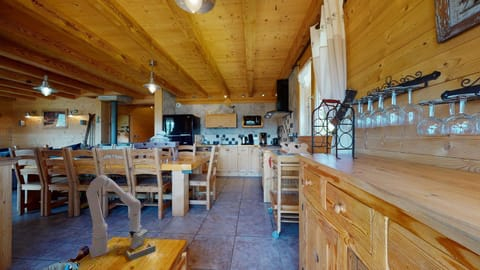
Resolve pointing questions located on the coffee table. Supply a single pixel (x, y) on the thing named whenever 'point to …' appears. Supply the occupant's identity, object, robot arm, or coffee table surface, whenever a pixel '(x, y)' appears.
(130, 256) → the tray
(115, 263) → the coffee table surface
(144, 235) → the medicine box
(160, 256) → the coffee table surface
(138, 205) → the robot arm
